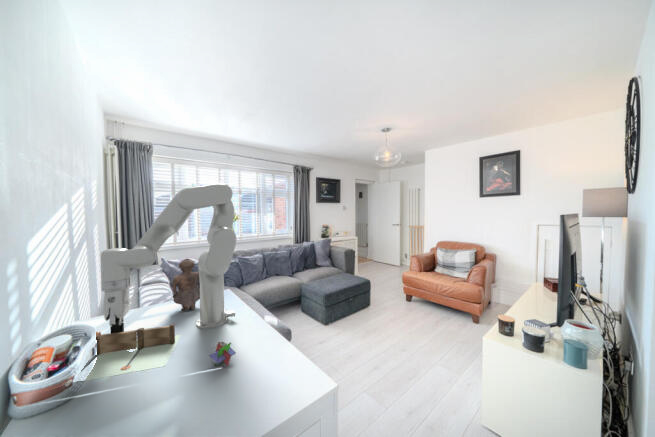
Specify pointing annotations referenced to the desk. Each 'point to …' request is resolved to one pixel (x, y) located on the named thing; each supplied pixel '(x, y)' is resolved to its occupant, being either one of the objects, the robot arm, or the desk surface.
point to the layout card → (131, 360)
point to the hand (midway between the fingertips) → (117, 335)
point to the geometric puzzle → (222, 353)
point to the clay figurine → (186, 286)
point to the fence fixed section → (155, 336)
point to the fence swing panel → (116, 341)
